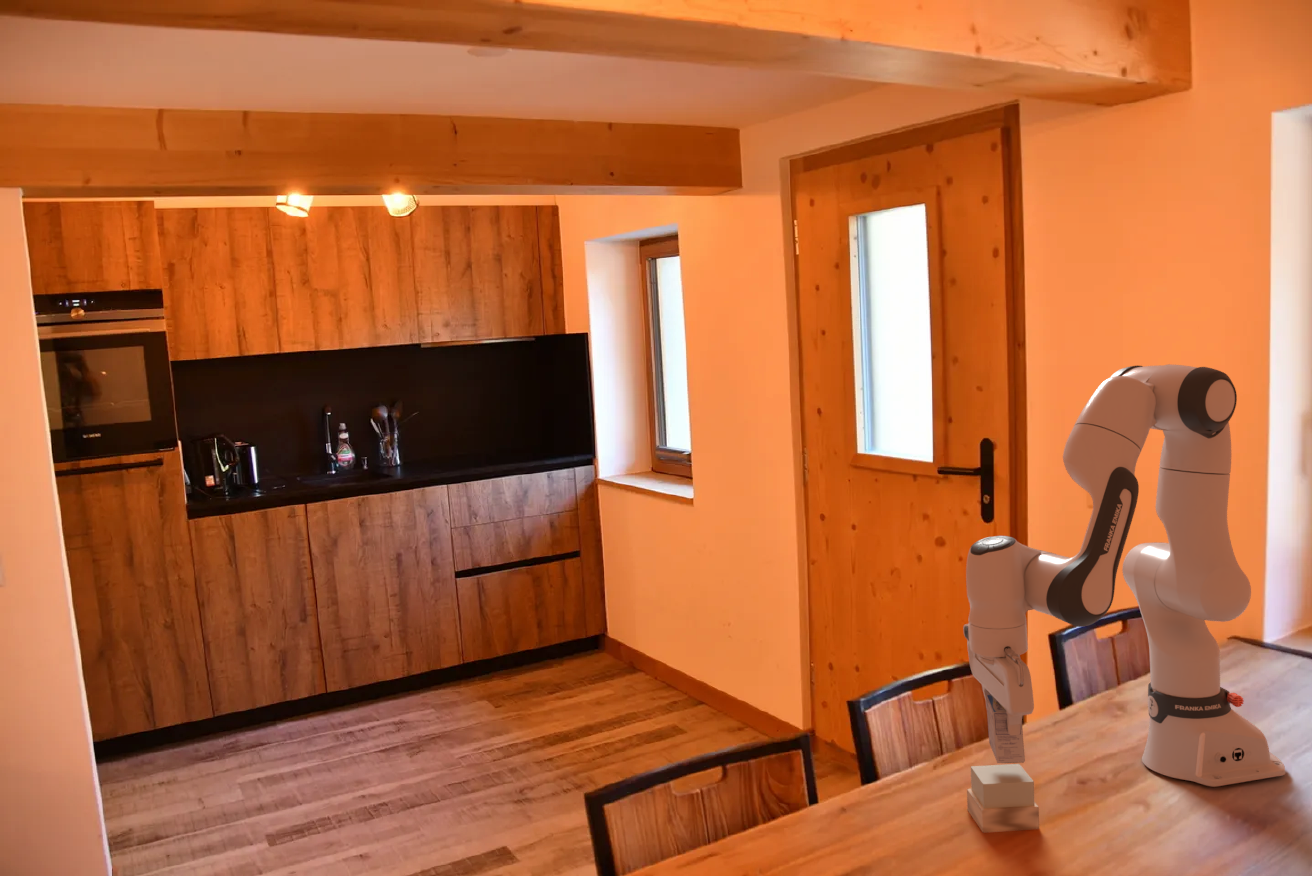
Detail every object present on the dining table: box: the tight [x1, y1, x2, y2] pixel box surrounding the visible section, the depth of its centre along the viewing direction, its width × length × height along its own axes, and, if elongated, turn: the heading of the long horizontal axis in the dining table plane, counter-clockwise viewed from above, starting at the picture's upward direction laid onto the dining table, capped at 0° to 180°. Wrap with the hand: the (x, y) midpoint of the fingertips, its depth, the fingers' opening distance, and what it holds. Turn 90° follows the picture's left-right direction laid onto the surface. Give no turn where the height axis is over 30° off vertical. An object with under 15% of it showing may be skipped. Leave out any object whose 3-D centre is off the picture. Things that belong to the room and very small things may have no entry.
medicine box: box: [985, 695, 1026, 764], centre depth 169 cm, size 8×4×9 cm, turn 171°
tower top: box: [970, 763, 1035, 808], centre depth 170 cm, size 8×7×4 cm
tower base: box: [966, 788, 1040, 834], centre depth 171 cm, size 9×8×4 cm
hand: (1002, 722), depth 169 cm, fingers closed on medicine box, 8 cm apart
